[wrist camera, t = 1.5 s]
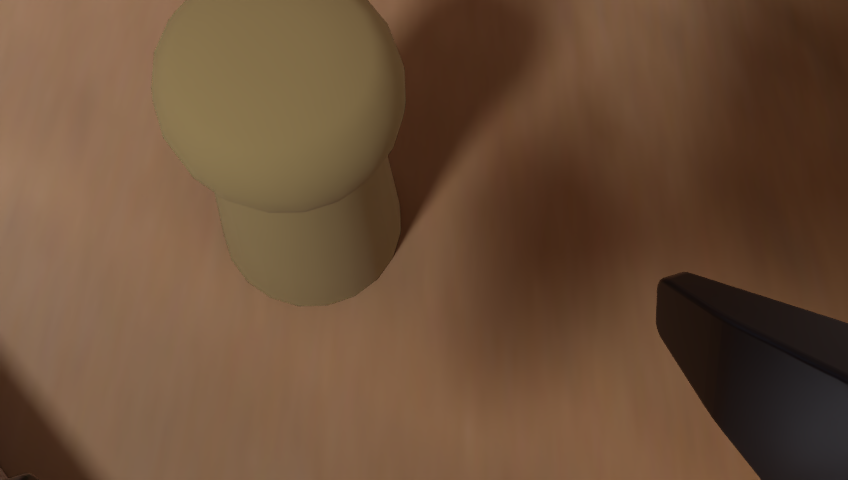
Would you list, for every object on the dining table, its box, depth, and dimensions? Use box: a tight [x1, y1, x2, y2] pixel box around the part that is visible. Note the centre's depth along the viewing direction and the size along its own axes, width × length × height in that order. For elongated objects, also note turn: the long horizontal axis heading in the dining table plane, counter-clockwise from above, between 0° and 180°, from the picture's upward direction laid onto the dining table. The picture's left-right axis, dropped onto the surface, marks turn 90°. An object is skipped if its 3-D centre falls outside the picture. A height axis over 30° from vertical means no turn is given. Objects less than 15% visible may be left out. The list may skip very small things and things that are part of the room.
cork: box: [151, 0, 406, 306], centre depth 18 cm, size 6×6×11 cm
